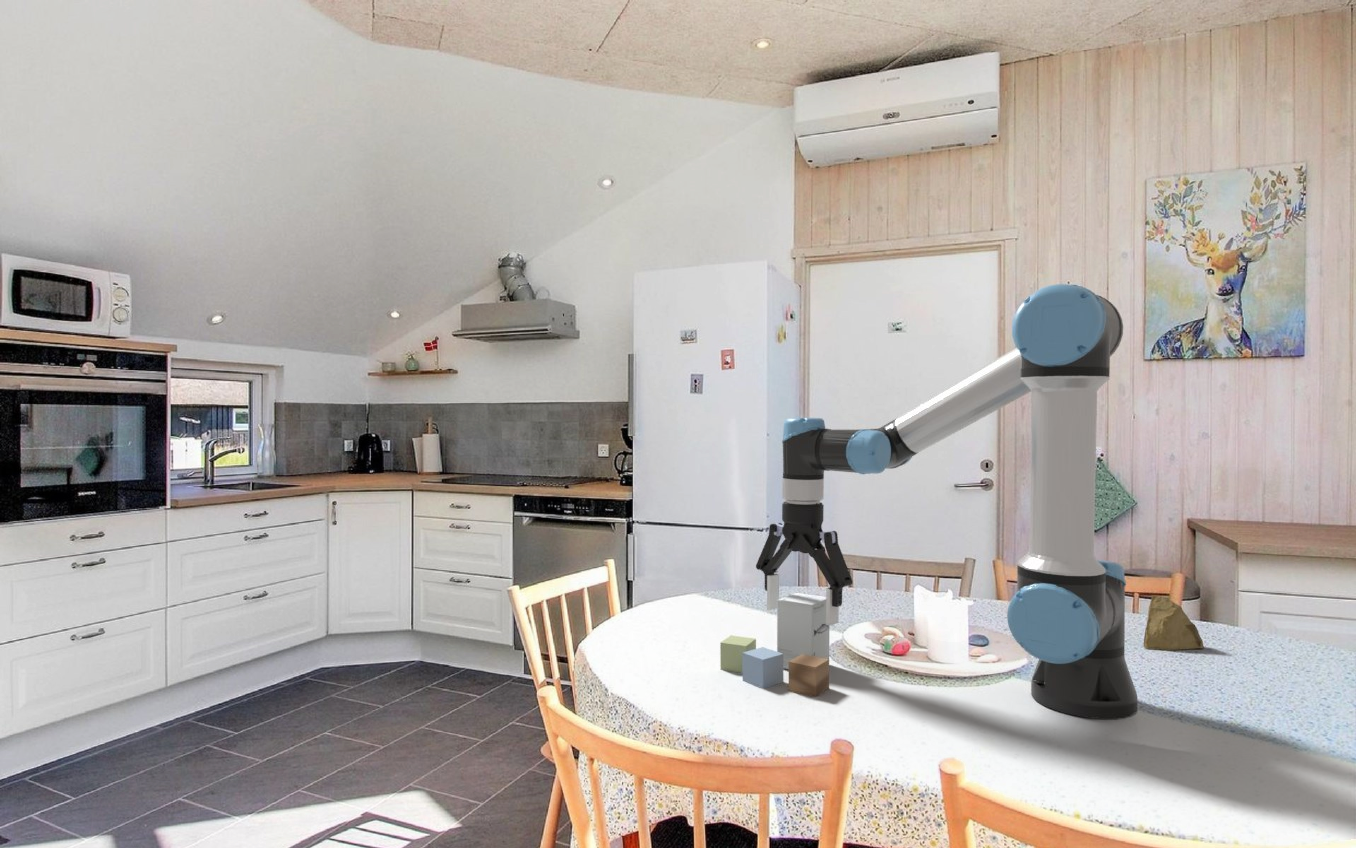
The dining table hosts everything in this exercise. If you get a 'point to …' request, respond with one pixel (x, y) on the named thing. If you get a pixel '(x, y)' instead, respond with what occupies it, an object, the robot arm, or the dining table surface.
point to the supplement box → (802, 627)
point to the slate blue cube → (762, 667)
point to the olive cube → (735, 652)
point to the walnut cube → (809, 675)
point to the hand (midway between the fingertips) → (801, 616)
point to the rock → (1169, 627)
